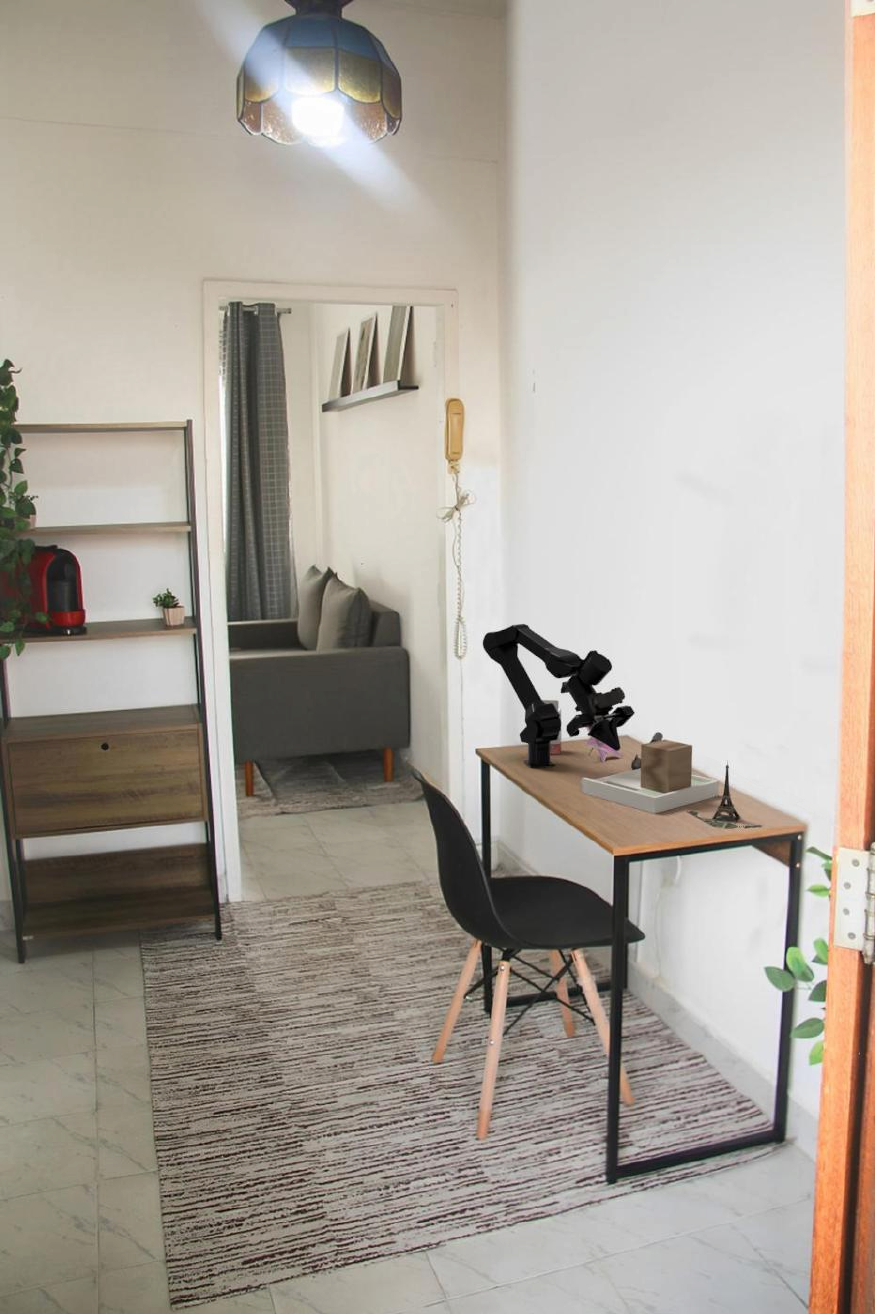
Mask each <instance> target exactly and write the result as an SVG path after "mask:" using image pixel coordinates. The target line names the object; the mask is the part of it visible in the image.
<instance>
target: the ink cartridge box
mask: <svg viewBox="0 0 875 1314" xmlns="http://www.w3.org/2000/svg"><path fill="white" fill-rule="evenodd" d="M541 700H542V701H543V702H544V703H545V704H550V703H553V705H554V706H555V708H556V711H557V712H558V714H560V717H559V718H560V720H561V721H562V708H559V705H560V704H559V700H556V699H555V700H553V699H552V700H551V699H541ZM561 752H562V728H561V729H560V732H559V735H558V738H557V740H553V741H550V755H560V753H561Z"/></svg>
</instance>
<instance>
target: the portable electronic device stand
mask: <svg viewBox="0 0 875 1314" xmlns="http://www.w3.org/2000/svg"><path fill="white" fill-rule="evenodd" d="M660 740H663V733H662V732H659V731H657V732H655V733H654V735H653V736H652V738H651V741H649V743H651V742H656V741H660ZM630 768H631V771H632V770H636V769H640V768H641V757H640V758H639V754H636V755H635V756H634V759H633V760H632V761H631V765H630Z"/></svg>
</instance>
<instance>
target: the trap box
mask: <svg viewBox="0 0 875 1314" xmlns="http://www.w3.org/2000/svg"><path fill="white" fill-rule="evenodd" d="M719 786H720V780H717V779H712V778H709V777H704V776H699V775H695V774H691V787H688V788H684V789H680V790H677V791H673V792H669V793H665V794H664V793H660V792H656V791H652V790H649V789H645V788H641V767H640V768H639V769H636V770H632V769H631V770H628V771H624V772H619V773H615V774H611V775H608V776H604V777H603V776H602V777H599V778H596V779H592V778H588V777H582V778H581V790H582V791H581V793H582V794H585V795H588V796H592V797H595V798H599V799H602V800H606V801H609V802H613V803H616V804H620V805H623V806H626V807H630V808H634V809H637V810H641V811H645V812H647V813H651V814H654V815H656V814H659V813H663V812H665V811H670V810H672V809H676V808H681V807H683V806H688V805H691V804H694V803H698V802H702V801H704V800H708V799H713V798H716V797H718V795H719V793H720V792H719V791H720V790H719V789H720V787H719ZM715 796H716V797H715Z"/></svg>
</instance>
